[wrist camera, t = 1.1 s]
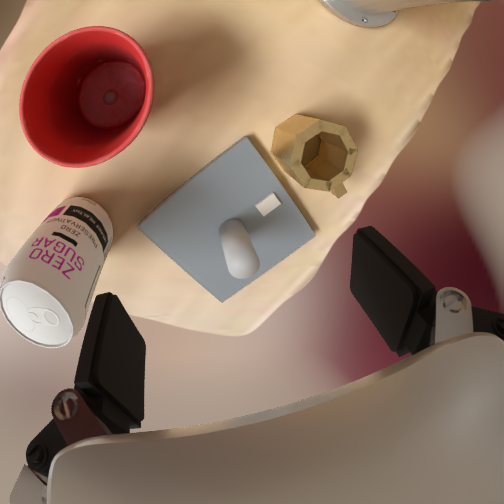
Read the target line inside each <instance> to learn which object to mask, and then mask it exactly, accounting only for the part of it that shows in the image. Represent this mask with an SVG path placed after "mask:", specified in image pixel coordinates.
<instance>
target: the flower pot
mask: <svg viewBox="0 0 504 504" xmlns="http://www.w3.org/2000/svg"><path fill="white" fill-rule="evenodd" d="M153 95H154V78H153V72H152V68H151V64H150V62H149V59H148V57H147V55H146V53H145V52H144V50H143V49H142V47H141V46H140V45H139V44H138V43H137V42H136V41H135V40H134V39H133V38H132V37H130V36H129V35H128V34H126V33H124V32H122V31H120V30H117V29H114V28H110V27H104V26H91V27H84V28H80V29H76V30H74V31H71V32H69V33H67V34H65V35H63V36H61V37H59V38H58V39H56V40H55V41H53V42H52V43H51V44H50V45H49V46H47V47H46V48H45V49H44V50H43V51H42V53H41V54H40V55H39V56H38V57H37V59H36V60H35V61H34V63H33V64H32V66H31V68H30V70H29V71H28V73H27V75H26V78H25V80H24V83H23V86H22V90H21V95H20V102H19V114H20V121H21V125H22V129H23V132H24V134H25V136H26V138H27V140H28V142H29V143H30V145H31V146H32V147H33V149H34V150H35V151H36V152H37V153H38V154H39V155H41V156H42V157H43V158H45V159H47V160H48V161H50V162H52V163H55V164H57V165H60V166H64V167H72V168H80V167H89V166H93V165H97V164H99V163H102V162H105V161H107V160H109V159H111V158H112V157H114V156H116V155H117V154H118V153H120V152H121V151H123V150H124V149H125V148H126V147H127V146H129V145H130V144H131V143H132V142H133V141H134V139H135V138H136V137H137V136H138V134H139V133H140V131H141V130H142V128H143V126H144V124H145V122H146V120H147V118H148V116H149V113H150V110H151V106H152V102H153Z"/></svg>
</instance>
